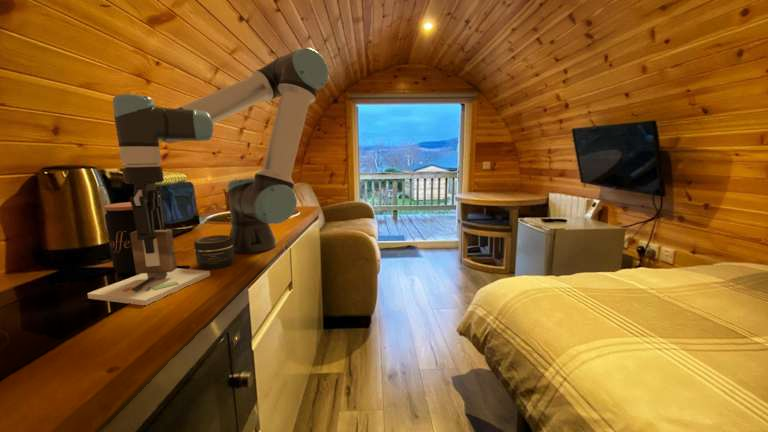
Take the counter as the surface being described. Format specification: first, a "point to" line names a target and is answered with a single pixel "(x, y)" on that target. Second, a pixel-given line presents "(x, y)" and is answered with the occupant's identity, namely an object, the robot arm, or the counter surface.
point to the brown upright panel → (164, 253)
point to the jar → (214, 251)
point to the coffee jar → (121, 235)
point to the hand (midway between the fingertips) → (156, 262)
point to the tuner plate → (148, 287)
